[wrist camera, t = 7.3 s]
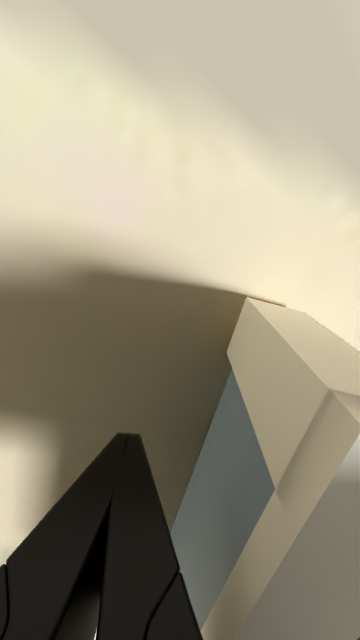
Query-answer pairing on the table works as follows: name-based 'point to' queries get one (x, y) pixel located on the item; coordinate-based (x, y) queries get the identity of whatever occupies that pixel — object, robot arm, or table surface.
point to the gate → (277, 488)
